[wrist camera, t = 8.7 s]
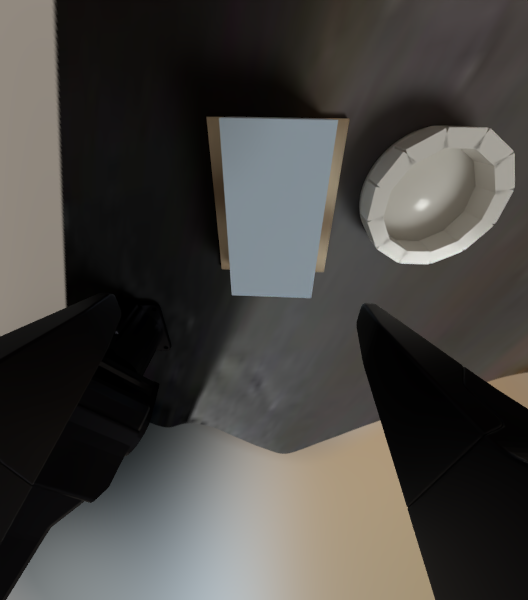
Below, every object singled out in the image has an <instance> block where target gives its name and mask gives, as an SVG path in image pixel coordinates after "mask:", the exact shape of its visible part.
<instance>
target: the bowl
mask: <svg viewBox="0 0 528 600" xmlns="http://www.w3.org/2000/svg"><path fill="white" fill-rule="evenodd" d="M512 152H513V150H512V149H511V148H510V147H509V146H508V145H507V144H506V143H505V142H504V141H503V140H502V139H501V138H500V137H499V136H498V135H497V134H496V133H495V132H494V131H493V130H492V129H490V128H486V127H472V126H444V125H440V126H431V127H430V126H429V127H426V128H422V129H419V130H416V131H414V132H412V133H410V134H408V135H406V136H404V137H403V138H401V139H399V140H398V141H396V142H395V143H394V144H393V145H391V146H390V147H389V148H388V149H387V150H386V151H385V152H384V153H383V154H382V155H381V156H380V157H379V158H378V159H377V161H376V162H375V163H374V165H373V166H372V168H371V169H370V171H369V173H368V175H367V176H366V178H365V181H364V183H363V186H362V189H361V193H360V199H359V213H360V218H361V222H362V224H363V227H364V228H365V230H366V232H367V235H368V237H369V239H370V240H371V242H372V243H373V244H374V246H375V247H376V248H377V250H379V251H381V252H382V253H384V254H385V255H387V256H388V257H390V258H391V259H393V260H394V261H396V262H397V263H401V264H429V263H430V264H432V263H434V262H437V261H440V260H442V259H445V258H447V257H450V256H452V255H455V254H458V253H460V252H463V251H462V249H464V250H466V249H467V248H468V247H469V246H470V245H472V244H473V243H474V242H475V241H476V240H477V239H479V238H480V237H481V236H482V235H483V234H484V233H486V232H487V231H488V230H489V229H490V228H491V227H493V226H494V225H492V224H491V223H493V224H495V223H496V222H497V220H498V218H499V216H500V214H501V213H502V211H503V209H504V207H505V205H506V204H507V202H508V200H509V198H510V196H511V195H512V193H513V191H514V190H512V189H513V188H515V153H512Z"/></svg>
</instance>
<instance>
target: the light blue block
mask: <svg viewBox="0 0 528 600" xmlns="http://www.w3.org/2000/svg"><path fill="white" fill-rule="evenodd" d="M219 125H220V139H221V153H222V166H223V180H224V194H225V208H226V221H227V235H228V249H229V262H230V276H231V290H232V295H241V296H267V297H293V298H311V295H312V289H313V282H314V276H315V269H316V262H317V256H318V249H319V243H320V236H321V230H322V223H323V217H324V210H325V204H326V197H327V190H328V184H329V177H330V171H331V164H332V158H333V151H334V145H335V138H336V131H337V125H338V120H335V119H327V118H277V117H221V118H219Z"/></svg>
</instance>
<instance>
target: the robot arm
mask: <svg viewBox="0 0 528 600" xmlns="http://www.w3.org/2000/svg"><path fill="white" fill-rule="evenodd" d="M153 307H154V308H156V309H154V308H153ZM357 332H358V337H359V343H360V349H361V354H362V360H363V364H364V368H365V371H366V375H367V378H368V381H369V385H370V388H371V391H372V394H373V398H374V401H375V404H376V407H377V411H378V414H379V417H380V420H381V423H382V426H383V430H384V433H385V437H386V440H387V443H388V446H389V450H390V453H391V456H392V459H393V462H394V466H395V469H396V472H397V475H398V479H399V482H400V485H401V488H402V492H403V495H404V498H405V502H406V505H407V507H408V511H409V515H410V519H411V522H412V525H413V528H414V531H415V535H416V538H417V541H418V545H419V548H420V551H421V554H422V557H423V561H424V564H425V567H426V571H427V574H428V577H429V580H430V584H431V587H432V590H433V594H434V597H435V600H528V409H527V408H526V407H524V406H522V405H521V404H519V403H518V402H516V401H515V400H513V399H511V398H510V397H508V396H507V395H505V394H504V393H502V392H500V391H499V390H497V389H496V388H494V387H493V386H491V385H490V384H489V383H487V382H486V381H484V380H483V379H481V378H480V377H478V376H477V375H475V374H474V373H473V372H471V371H470V370H468V369H467V368H466V367H463V366H462V365H461V364H460V363H458V362H457V361H456V360H454V359H453V358H451V357H450V356H448V355H447V354H446V353H444V352H443V351H441V350H440V349H439V348H437V347H436V346H434V345H433V344H431V343H430V342H429V341H427V340H426V339H424V338H423V337H422V336H420V335H419V334H417V333H416V332H414V331H413V330H412V329H410V328H409V327H407V326H406V325H405V324H403V323H402V322H400V321H399V320H397V319H396V318H395V317H393V316H392V315H390V314H389V313H388V312H386V311H385V310H383V309H382V308H380V307H379V306H378V305H376V304H370V303H364V304H363V305H362V306H361V309H360V313H359V316H358V319H357ZM170 348H171V342H170V339H169V335H168V332H167V329H166V325H165V322H164V318H163V315H162V311H161V308H160V306H159V305H158V304H156V303H140V302H117V300H116V297H115V295H114V294H112V293H99V294H97V295H94V296H92V297H90V298H87V299H85V300H83V301H81V302H78V303H76V304H74V305H71V306H69V307H67V308H65V309H62V310H60V311H58V312H56V313H53V314H51V315H49V316H46V317H44V318H42V319H40V320H37V321H35V322H33V323H30V324H28V325H26V326H24V327H21V328H19V329H17V330H14V331H12V332H10V333H8V334H5V335H3V336H1V337H0V600H6V599H7V597H8V596H9V594H10V593H11V591H12V589H13V588H14V586H15V584H16V583H17V581H18V579H19V578H20V576H21V575H22V573H23V571H24V570H25V568H26V567H27V565H28V563H29V562H30V560H31V558H32V557H33V555H34V554H35V552H36V550H37V549H38V547H39V545H40V544H41V542H42V541H43V539H44V537H45V536H46V534H47V533H48V531H49V530H50V528H51V527H52V526H53V525H55V524H56V523H57V522H58V521H60V520H61V519H62V518H64V517H65V516H66V515H67V514H69V513H70V512H71V511H73V510H74V509H75V508H76V507H78V506H79V505H80V504H81V503H83V502H84V501H86V502H90V503H91V502H93V501H95V499H97V498H98V497H99V496H100V495H101V494H102V493H103V492H104V491H105V490H106V489H107V488H108V487H109V486H110V483H111V482H112V480H113V478H114V475H115V474H116V472H117V469H118V467H119V465H120V464H121V462H122V460H123V458H124V456H127V455H128V454H129V453H130V452H131V451H132V450H133V449H134V448H135V447H136V446H137V444H138V443H139V441H140V440H141V438H142V437H143V435H144V433H145V431H146V429H147V427H148V425H149V423H150V420H151V416H152V412H153V408H154V404H155V400H156V396H157V392H158V388H159V383H157V382H155V381H154V382H153V381H151V380H149V379H147V378H145V377H144V376H143V374H144V372H145V370H146V368H147V367H148V365H149V363H150V361H151V359H152V357H153V355H154V353H155V351H156V350H164V351H168V350H170Z"/></svg>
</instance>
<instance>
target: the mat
mask: <svg viewBox="0 0 528 600" xmlns="http://www.w3.org/2000/svg"><path fill="white" fill-rule="evenodd" d="M219 118H221V117H207V127H208V137H209V147H210V157H211V167H212V177H213V187H214V196H215V206H216V216H217V226H218V236H219V246H220V256H221V266H222V269H230V262H229V249H228V235H227V221H226V208H225V194H224V180H223V166H222V153H221V139H220V125H219ZM327 119H335V120H338V125H337V131H336V138H335V145H334V151H333V158H332V164H331V171H330V177H329V184H328V190H327V197H326V204H325V210H324V217H323V223H322V230H321V236H320V243H319V249H318V256H317V262H316V269H315V272H324V267H325V261H326V255H327V249H328V243H329V237H330V232H331V226H332V220H333V214H334V208H335V202H336V196H337V190H338V184H339V178H340V172H341V166H342V160H343V154H344V148H345V143H346V137H347V131H348V125H349V119H348V118H327Z"/></svg>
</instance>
